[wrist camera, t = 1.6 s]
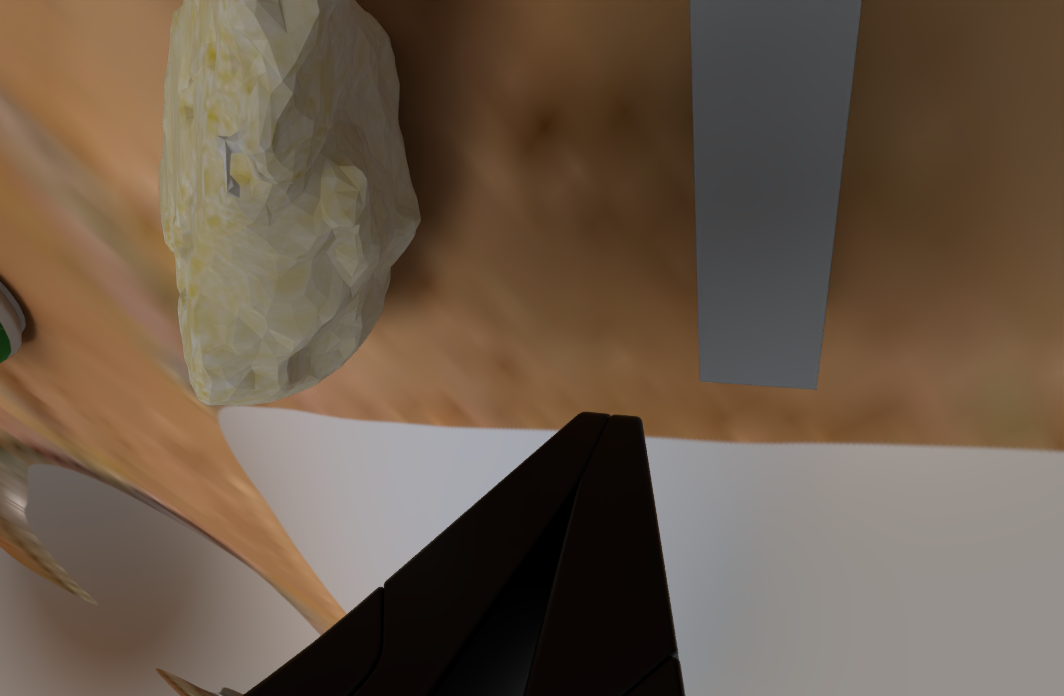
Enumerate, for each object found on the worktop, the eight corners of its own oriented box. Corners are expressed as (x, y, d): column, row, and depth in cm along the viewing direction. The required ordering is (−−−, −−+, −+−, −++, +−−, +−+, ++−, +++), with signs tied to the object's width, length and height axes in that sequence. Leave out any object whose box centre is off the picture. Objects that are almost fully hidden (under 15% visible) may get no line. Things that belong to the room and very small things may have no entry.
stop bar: (858, -133, 13) (876, -133, 10) (813, 308, 19) (816, 389, 16) (711, -101, 14) (687, -93, 11) (714, 305, 20) (699, 381, 17)
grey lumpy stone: (341, 309, 29) (481, 495, 18) (165, 313, 25) (202, 556, 14) (365, -58, 23) (595, -122, 12) (140, -128, 19) (170, -320, 8)
